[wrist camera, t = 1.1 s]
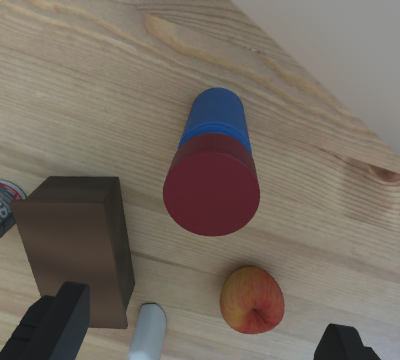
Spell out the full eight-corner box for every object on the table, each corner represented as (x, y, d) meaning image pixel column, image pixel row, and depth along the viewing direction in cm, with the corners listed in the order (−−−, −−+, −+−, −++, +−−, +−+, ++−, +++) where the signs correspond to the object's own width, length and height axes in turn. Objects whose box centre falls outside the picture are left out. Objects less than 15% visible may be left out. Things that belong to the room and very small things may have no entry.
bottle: (190, 87, 32) (161, 149, 17) (244, 87, 31) (260, 149, 17) (192, 139, 34) (168, 230, 20) (242, 139, 34) (255, 232, 19)
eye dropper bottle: (134, 325, 47) (108, 415, 37) (143, 298, 45) (118, 387, 34) (163, 333, 48) (145, 425, 37) (174, 307, 45) (158, 398, 35)
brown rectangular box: (43, 172, 37) (8, 202, 31) (123, 172, 36) (103, 203, 30) (73, 284, 45) (50, 326, 39) (140, 287, 44) (126, 329, 38)
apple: (208, 272, 42) (205, 324, 35) (255, 243, 39) (261, 294, 32) (243, 305, 44) (247, 361, 37) (290, 280, 42) (303, 335, 35)
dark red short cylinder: (168, 131, 20) (159, 151, 17) (257, 131, 19) (263, 151, 17) (173, 207, 22) (166, 235, 19) (253, 208, 22) (257, 237, 19)
